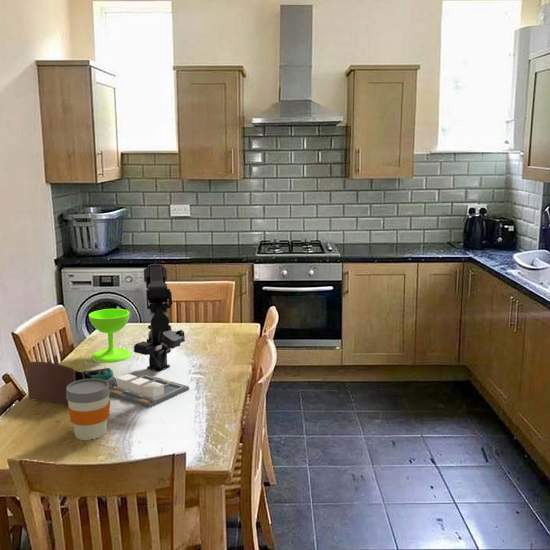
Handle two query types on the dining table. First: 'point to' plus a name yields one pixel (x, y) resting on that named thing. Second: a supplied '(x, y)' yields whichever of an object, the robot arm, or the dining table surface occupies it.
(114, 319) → the wineglass
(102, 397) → the reusable coffee cup
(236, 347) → the dining table surface
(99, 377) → the digital multimeter
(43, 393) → the letter holder
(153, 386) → the cream square block
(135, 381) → the cream block
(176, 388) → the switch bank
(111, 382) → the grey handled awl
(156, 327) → the robot arm
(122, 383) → the white block
